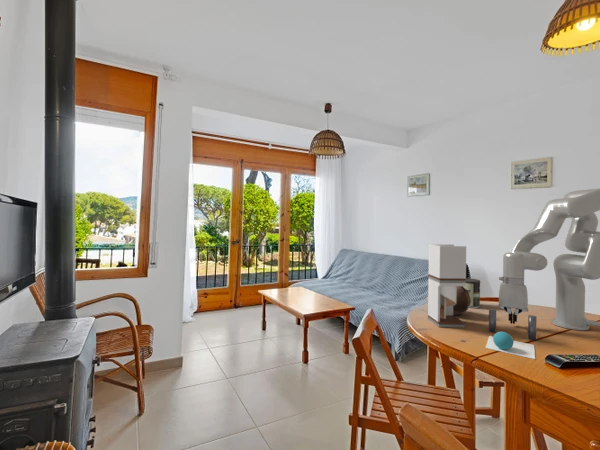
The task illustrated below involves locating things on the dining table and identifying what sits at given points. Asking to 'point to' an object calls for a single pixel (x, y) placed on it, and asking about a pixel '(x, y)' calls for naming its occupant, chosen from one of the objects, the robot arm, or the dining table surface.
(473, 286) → the coffee can
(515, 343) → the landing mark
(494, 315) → the left post
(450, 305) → the white tower on base
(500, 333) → the ball
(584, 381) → the dining table surface
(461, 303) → the wooden sphere
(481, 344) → the dining table surface
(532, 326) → the right post
